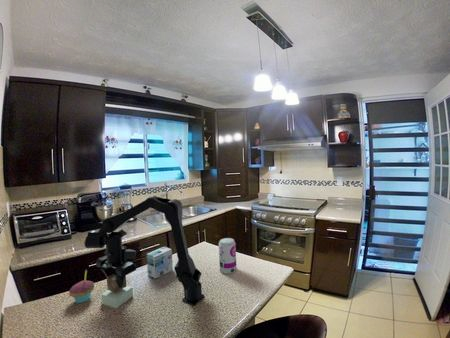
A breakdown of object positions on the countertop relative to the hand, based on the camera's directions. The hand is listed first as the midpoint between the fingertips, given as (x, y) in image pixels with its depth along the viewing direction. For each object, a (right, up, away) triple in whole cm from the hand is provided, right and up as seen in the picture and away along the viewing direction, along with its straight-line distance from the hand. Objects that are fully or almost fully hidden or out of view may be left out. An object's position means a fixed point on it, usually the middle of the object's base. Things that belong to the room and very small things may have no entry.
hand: (116, 285), depth 87 cm
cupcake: (-14, -7, +1) cm, 16 cm away
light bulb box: (+12, -5, +20) cm, 24 cm away
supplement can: (+45, -3, +19) cm, 49 cm away
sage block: (0, -6, 0) cm, 6 cm away
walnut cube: (0, -1, 0) cm, 1 cm away
